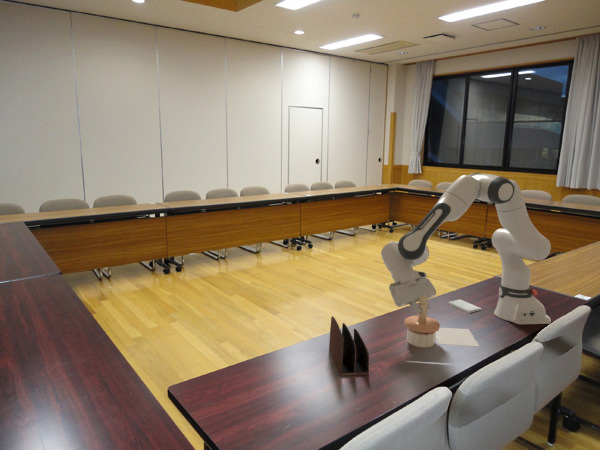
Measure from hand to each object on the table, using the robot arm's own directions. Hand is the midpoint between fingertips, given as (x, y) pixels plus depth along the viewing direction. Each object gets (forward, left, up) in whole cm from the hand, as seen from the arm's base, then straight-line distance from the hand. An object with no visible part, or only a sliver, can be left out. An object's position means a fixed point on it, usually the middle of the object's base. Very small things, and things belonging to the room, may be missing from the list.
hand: (424, 311), depth 160 cm
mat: (-14, -6, -13) cm, 20 cm away
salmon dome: (0, 0, -6) cm, 6 cm away
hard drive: (-26, -41, -14) cm, 50 cm away
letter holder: (+28, +17, -13) cm, 36 cm away
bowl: (+1, 0, -13) cm, 13 cm away
